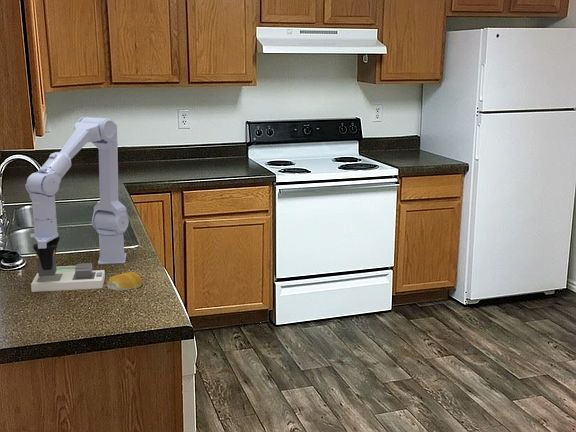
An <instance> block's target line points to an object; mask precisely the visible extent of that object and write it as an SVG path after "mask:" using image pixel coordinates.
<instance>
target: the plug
mask: <svg viewBox="0 0 576 432" xmlns="http://www.w3.org/2000/svg"><path fill="white" fill-rule="evenodd" d="M35 253H36V252H35ZM35 255H36V256H35V257H36V263H37V273H38V275H39V276H53V275H55V273H56V271H57V270H56V267H57V262H56V255H55V250H54V254H53V263H52V269H51V270H43V268H42V266H41V262H40V259H39V257H38V255H37V253H36V254H35Z"/></svg>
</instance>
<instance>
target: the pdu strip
mask: <svg viewBox="0 0 576 432" xmlns="http://www.w3.org/2000/svg"><path fill="white" fill-rule="evenodd" d="M75 266H76V267H75V271H74V272H56V273H55V275H53V276H39V275H38V272H37V273H36V275H35V276H34V277H33V279H32V282H31V284H30V288H31V293H35V292H36V293H37V292H55V291H58V292H59V291H75V290H93V289H94V290H95V289H103V287H104V282H105V278H106V276H105V275H106V273H105V269H100V270H99V269H97V270H93V263H92V262H86V263H85V262H84V263H76V265H75Z"/></svg>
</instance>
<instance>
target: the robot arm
mask: <svg viewBox="0 0 576 432" xmlns="http://www.w3.org/2000/svg"><path fill="white" fill-rule="evenodd" d="M88 143H91V144H93V145H94V146H95V147H96V148H97V149H98V173H99V174H98V177H99V178H98V179H99V182H98V183H99V202H97V203H96V204H95V205H94V206H93V214H92V217H91V225H92V227H93V228H94V229H95V230H96V233H98V243H99V246H98V247H99V258H98V261H97V265H106V264H107V265H110V264H125V263H126V262H127V261H126V260H127V253H126V252H125V243H124V241H125V240H124V233H126V231H127V229H128V227H129V221H130V219H129V215H128V212H127V207H126V206H125V205H124V204H123V203H122V202H120V199H119V162H118V161H119V159H118V157H119V156H118V153H119V151H118V150H119V148H118V146H119V145H118V124H117V123H116V122H115V121H114V120H113V119H112V118H110V117H92V116H91V117H89V116H82V117H79V119H78V120H77V122H75V124H74V131H73V132H72V134H71V135H70V137H69V138H68V140H67V141H66V143H64V146H63V147H62V148H61V150H60V151H55V152H53V153H50V155H49V157H48V159H47V160H46V161H45V162H44V163H43V164H42V165H41V166H40V168H39V169H38V171H37V172H33V173H31V174H30V175H29V176H28V177H27V179H26V184H25V185H24V186H25V189H26V191H27V193H28V194H29V199H30V200H31V205H32V207H31V208H32V217H33V228H34V229H33V231H34V233H30V235H29V238H30V239H31V238H33V239H34V240H35V241H36V242H37V243H34V244H32V245H33V246H32V248H33V250H34V251H35V253H37V255H38V257H39V259H40V262H41V266H42V268H43V270H51V269H52V263H53V254H54V250H55V256H56V254H57V248H58V244H59V241H60V239H61V237H60V236H59V232H58V222H57V221H58V219H57V210H56V209H57V207H56V197H55V196H56V193H58V192H59V189H60V184H61V181H62V179H63V177H64V176H65V175H66V173H68V171H69V170H70V168H71V167H72V159H73V158H74V157H75V156H76V155H77V154H78V153H79V152H80V151H81V150H82V148H84V146H85V145H87V144H88Z"/></svg>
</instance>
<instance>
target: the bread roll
mask: <svg viewBox="0 0 576 432" xmlns="http://www.w3.org/2000/svg"><path fill="white" fill-rule="evenodd" d="M106 283H107V284H106V286H107V288H108V289H109V290H113V291H116V292H123V291H124V292H125V291H129V290H133V289H139V288H140V287H141V286H142V285H143V280H142V277H141V276H140V275H139V274H138V273H137V272H133V271H129V272H123V273H119V274H115V275H112V276H110V277H109V279H108V280H107V282H106Z"/></svg>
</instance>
